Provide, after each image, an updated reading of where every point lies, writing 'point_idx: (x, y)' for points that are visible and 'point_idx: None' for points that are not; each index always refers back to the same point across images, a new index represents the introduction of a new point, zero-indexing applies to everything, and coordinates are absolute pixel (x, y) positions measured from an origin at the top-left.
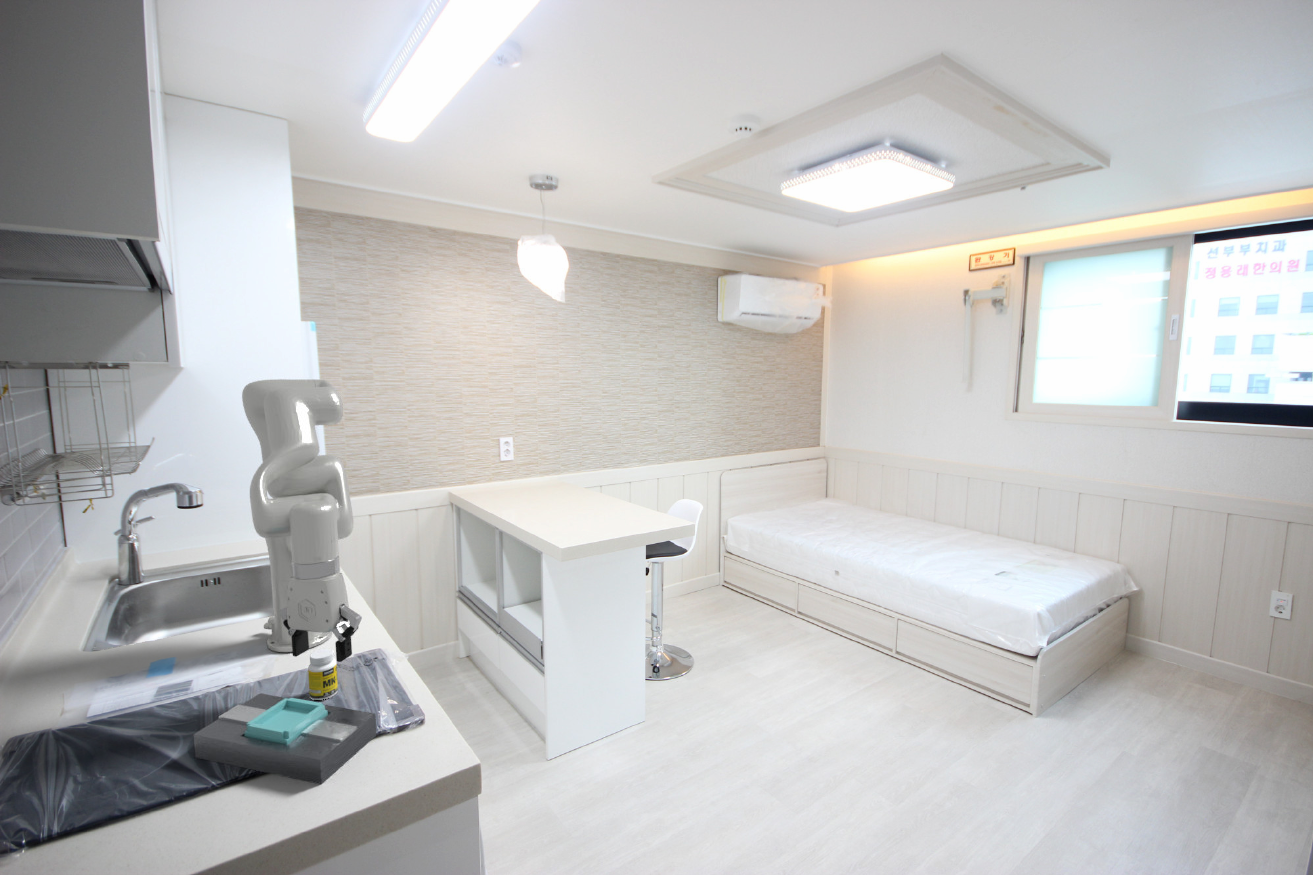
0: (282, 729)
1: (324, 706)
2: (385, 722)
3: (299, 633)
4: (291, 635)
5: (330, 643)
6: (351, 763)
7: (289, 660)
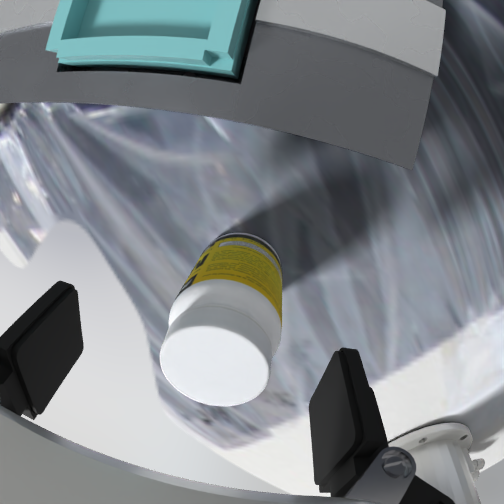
0: None
1: (49, 50)
2: (15, 151)
3: (344, 468)
4: (387, 449)
5: None
6: None
7: (418, 405)
